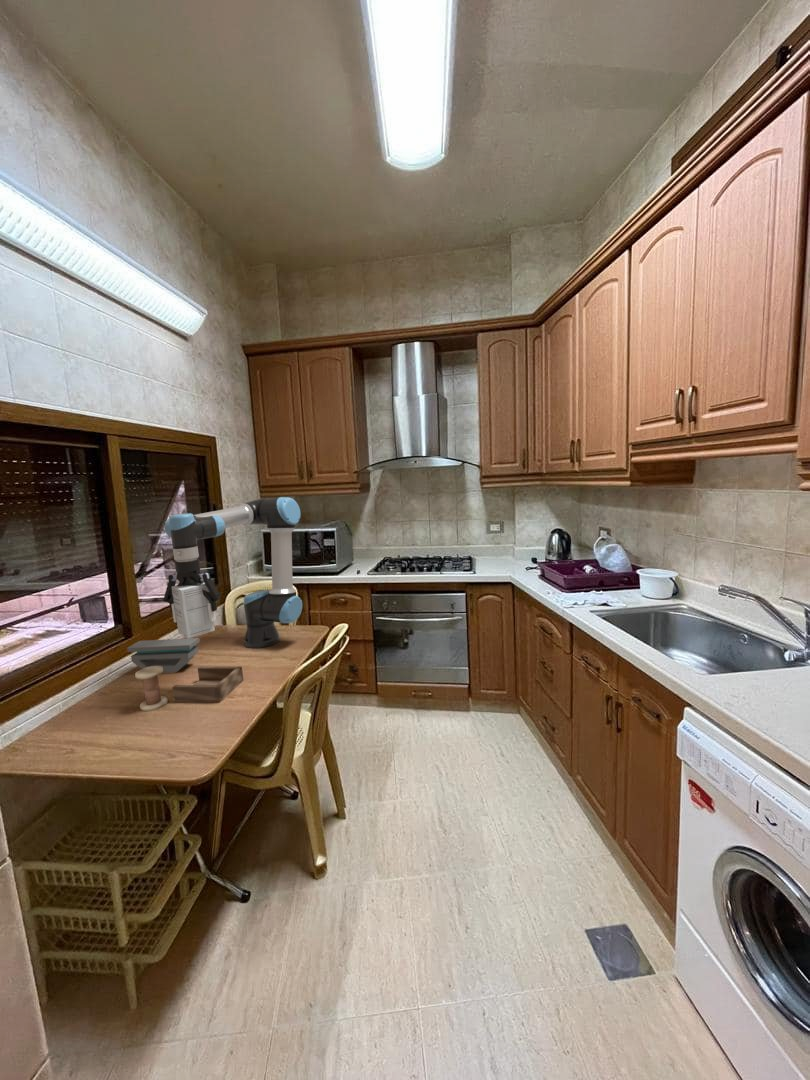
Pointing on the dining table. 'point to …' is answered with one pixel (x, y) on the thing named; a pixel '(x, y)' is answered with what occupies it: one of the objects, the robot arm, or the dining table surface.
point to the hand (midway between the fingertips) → (195, 620)
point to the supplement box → (192, 610)
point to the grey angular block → (164, 653)
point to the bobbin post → (151, 688)
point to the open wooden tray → (210, 685)
